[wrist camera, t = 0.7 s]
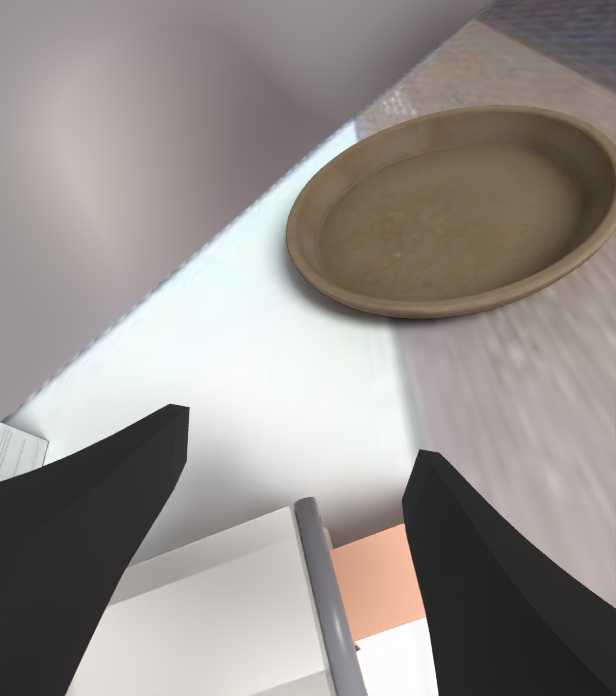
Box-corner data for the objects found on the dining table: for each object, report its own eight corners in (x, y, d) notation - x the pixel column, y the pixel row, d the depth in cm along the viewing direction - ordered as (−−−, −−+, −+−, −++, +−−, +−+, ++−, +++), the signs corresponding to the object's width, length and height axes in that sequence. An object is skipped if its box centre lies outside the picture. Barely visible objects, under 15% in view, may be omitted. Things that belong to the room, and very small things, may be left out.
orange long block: (506, 587, 20) (520, 584, 16) (251, 675, 22) (209, 691, 18) (468, 515, 23) (473, 497, 19) (242, 597, 24) (203, 597, 20)
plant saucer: (247, 290, 42) (229, 262, 38) (375, 140, 52) (370, 106, 49) (548, 397, 25) (565, 364, 22) (649, 146, 36) (671, 95, 32)
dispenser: (392, 681, 19) (367, 719, 13) (153, 761, 21) (26, 830, 14) (343, 520, 25) (309, 493, 18) (154, 591, 26) (62, 587, 20)
